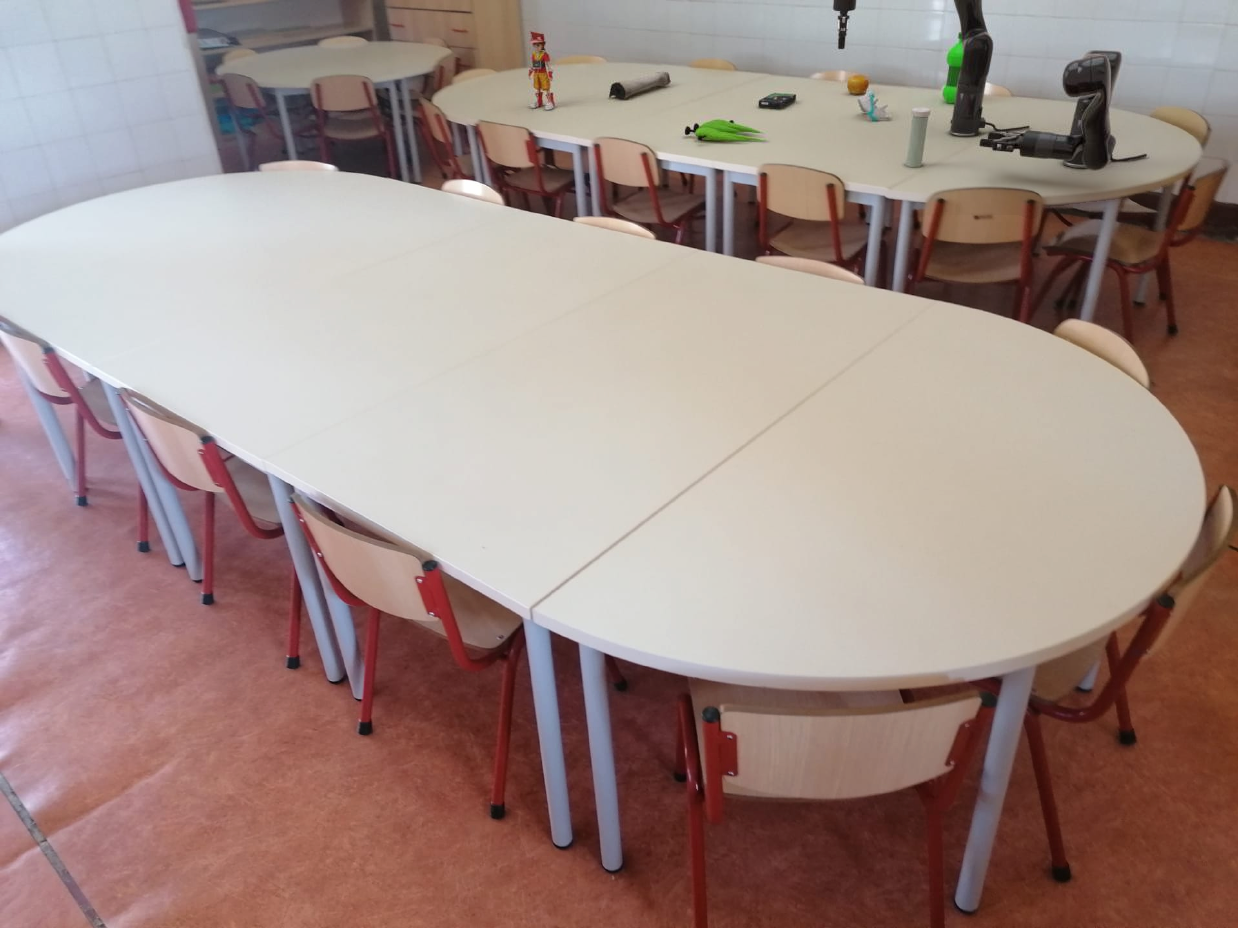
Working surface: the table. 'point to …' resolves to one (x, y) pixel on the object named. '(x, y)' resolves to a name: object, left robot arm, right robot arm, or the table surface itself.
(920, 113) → the lid
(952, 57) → the green dumbbell-shaped cylinder
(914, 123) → the jar
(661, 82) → the rolled mat
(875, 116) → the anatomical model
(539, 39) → the toy
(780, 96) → the disk drive
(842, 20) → the left robot arm
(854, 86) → the fruit
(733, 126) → the toy
